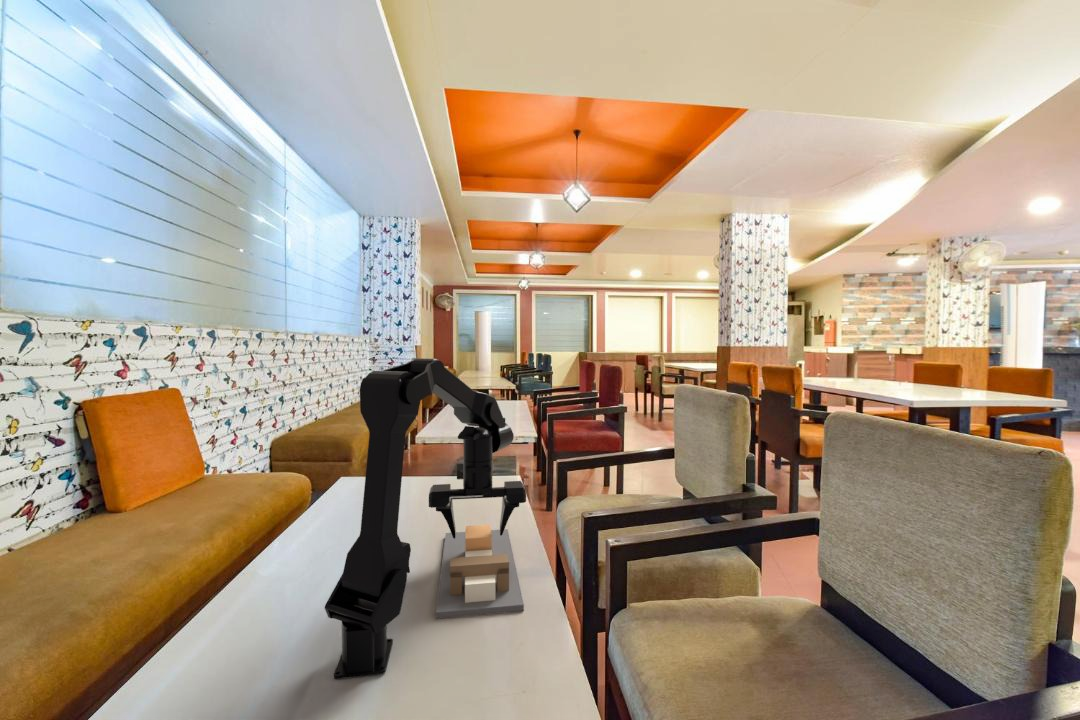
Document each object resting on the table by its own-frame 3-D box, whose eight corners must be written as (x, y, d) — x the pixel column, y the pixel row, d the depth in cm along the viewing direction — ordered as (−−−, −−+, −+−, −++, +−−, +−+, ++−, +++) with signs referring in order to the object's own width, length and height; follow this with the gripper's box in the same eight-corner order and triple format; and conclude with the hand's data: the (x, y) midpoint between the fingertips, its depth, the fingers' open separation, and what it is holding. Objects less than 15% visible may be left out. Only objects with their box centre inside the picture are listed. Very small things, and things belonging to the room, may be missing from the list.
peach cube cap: (491, 562, 86) (491, 537, 86) (465, 564, 85) (465, 538, 85) (490, 548, 92) (490, 524, 92) (465, 550, 91) (465, 526, 91)
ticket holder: (523, 610, 72) (523, 574, 72) (436, 618, 70) (435, 581, 70) (507, 533, 102) (507, 507, 102) (445, 537, 100) (445, 511, 100)
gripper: (520, 447, 97) (519, 517, 98) (432, 450, 94) (433, 522, 95) (526, 460, 86) (526, 539, 87) (428, 464, 83) (428, 546, 84)
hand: (477, 536), depth 88 cm, fingers open, 9 cm apart
